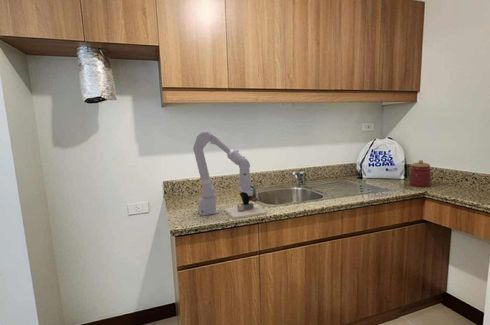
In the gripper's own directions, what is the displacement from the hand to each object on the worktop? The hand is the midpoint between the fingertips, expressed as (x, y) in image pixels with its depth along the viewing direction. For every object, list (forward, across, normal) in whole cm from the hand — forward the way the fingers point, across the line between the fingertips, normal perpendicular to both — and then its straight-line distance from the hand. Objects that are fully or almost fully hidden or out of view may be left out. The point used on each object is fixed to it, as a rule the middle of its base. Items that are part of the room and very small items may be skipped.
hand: (245, 205), depth 149 cm
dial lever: (+1, -3, +1) cm, 3 cm away
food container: (+3, +20, -11) cm, 23 cm away
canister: (+3, -4, -128) cm, 128 cm away
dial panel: (+3, -3, +2) cm, 4 cm away
